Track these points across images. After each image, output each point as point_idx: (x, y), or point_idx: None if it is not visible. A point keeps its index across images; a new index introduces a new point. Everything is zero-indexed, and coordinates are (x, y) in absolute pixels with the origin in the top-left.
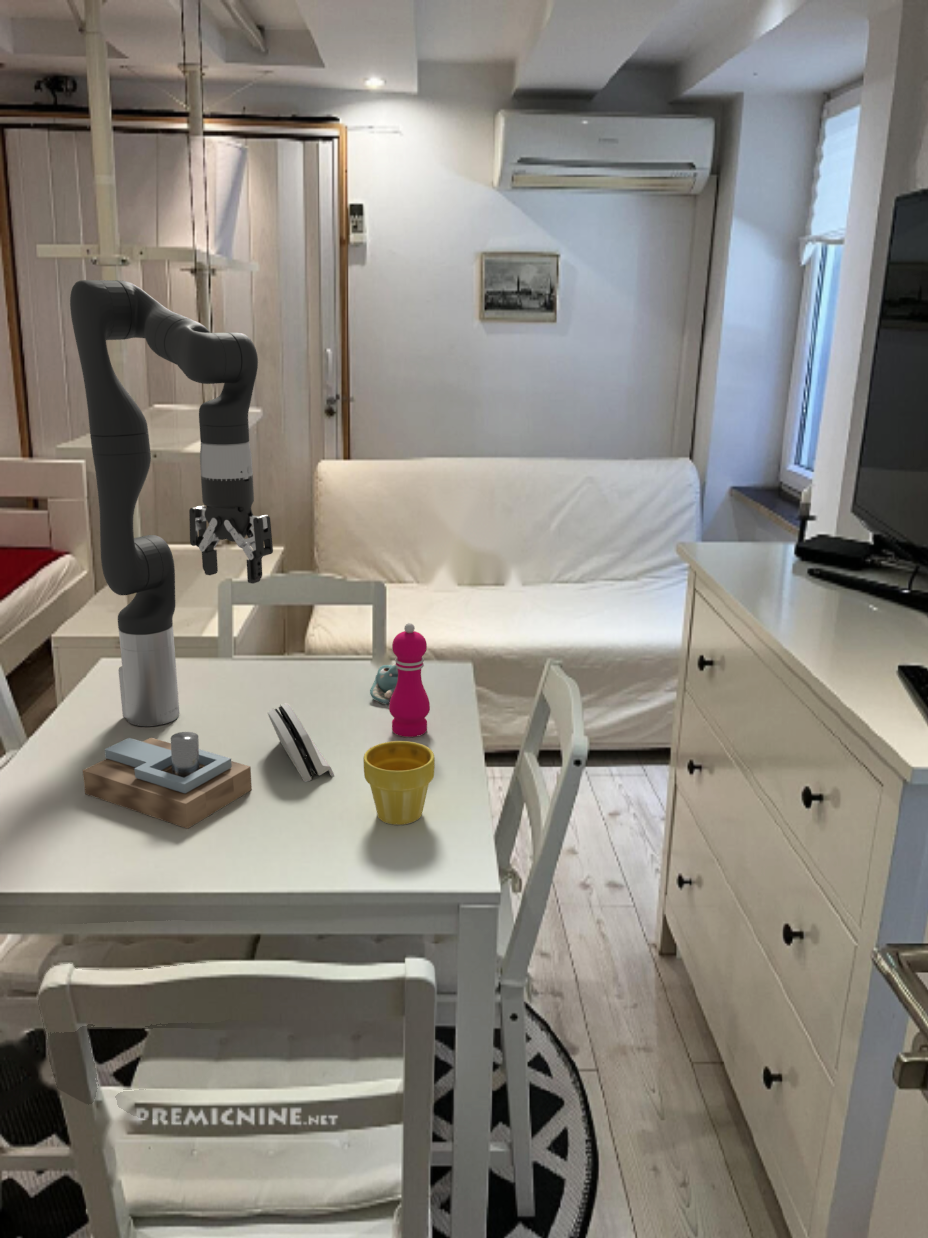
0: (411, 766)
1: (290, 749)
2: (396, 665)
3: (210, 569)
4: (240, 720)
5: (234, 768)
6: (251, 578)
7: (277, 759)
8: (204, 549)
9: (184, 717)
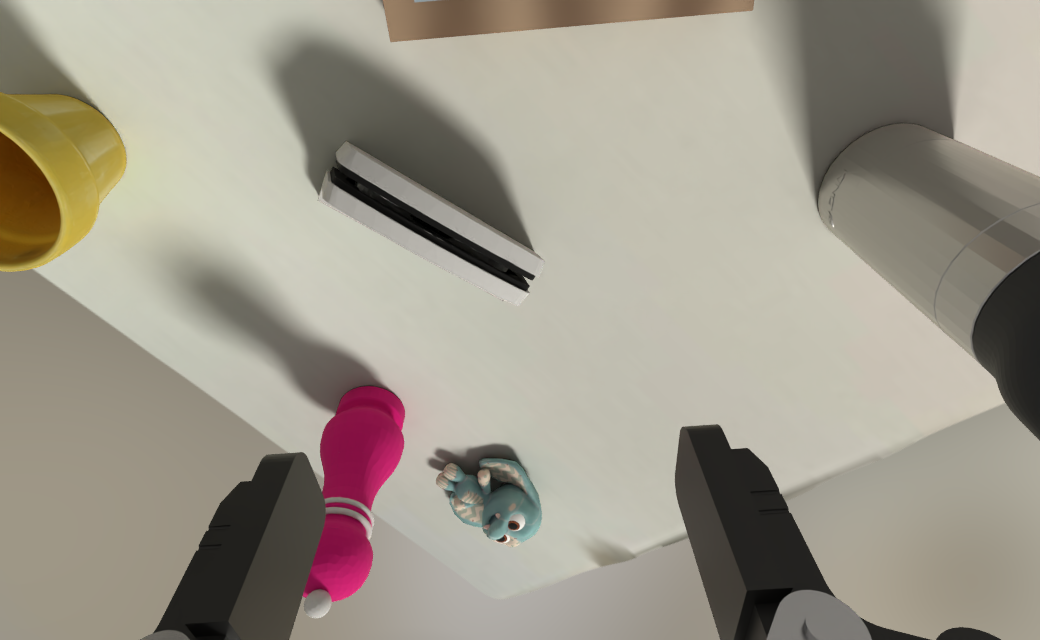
0: (51, 230)
1: (348, 148)
2: (354, 504)
3: (691, 471)
4: (680, 278)
5: (412, 4)
6: (254, 481)
7: (475, 187)
8: (782, 618)
9: (806, 223)
